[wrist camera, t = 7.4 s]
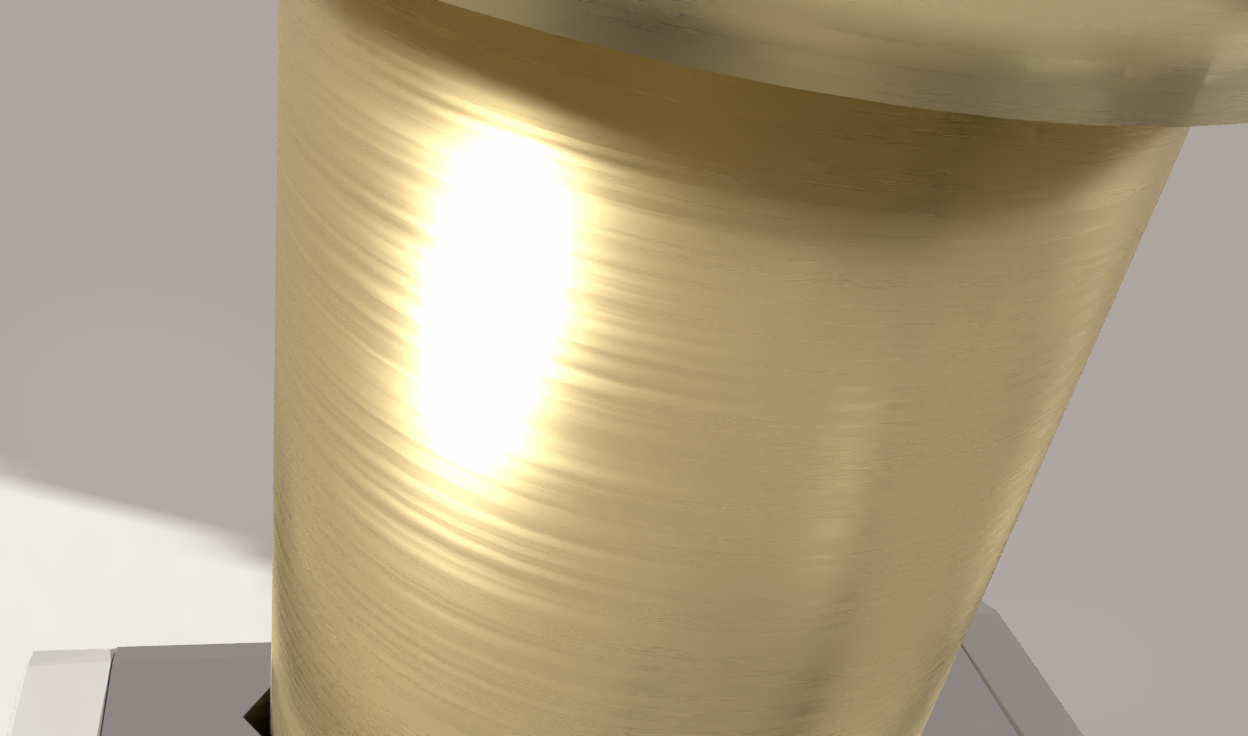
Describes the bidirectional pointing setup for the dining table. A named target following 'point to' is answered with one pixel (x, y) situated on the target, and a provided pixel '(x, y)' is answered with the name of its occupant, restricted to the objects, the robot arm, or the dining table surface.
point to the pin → (688, 342)
